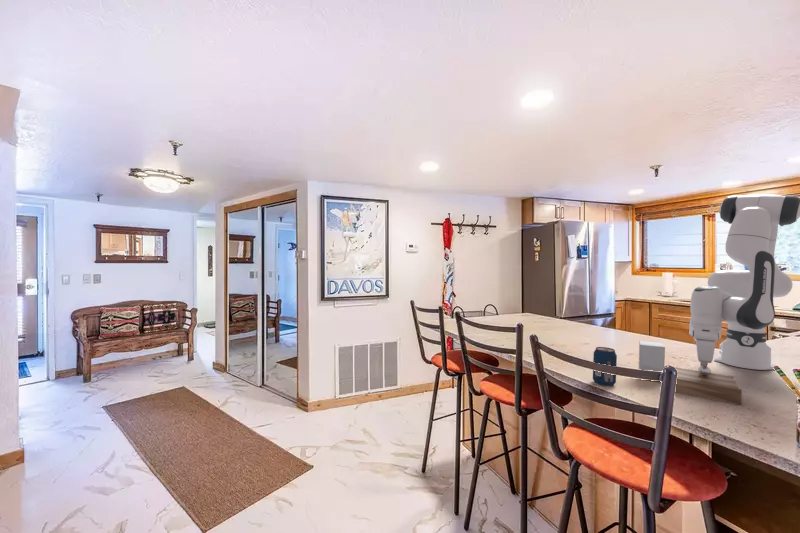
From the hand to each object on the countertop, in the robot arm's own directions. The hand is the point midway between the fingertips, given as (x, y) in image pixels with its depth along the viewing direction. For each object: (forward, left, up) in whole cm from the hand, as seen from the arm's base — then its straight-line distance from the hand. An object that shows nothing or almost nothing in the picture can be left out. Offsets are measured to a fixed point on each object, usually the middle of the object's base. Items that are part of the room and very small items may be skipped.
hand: (703, 369), depth 132 cm
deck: (+11, 0, -4) cm, 11 cm away
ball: (+5, 0, +1) cm, 5 cm away
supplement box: (+11, -15, -4) cm, 19 cm away
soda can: (+29, -27, -4) cm, 40 cm away
